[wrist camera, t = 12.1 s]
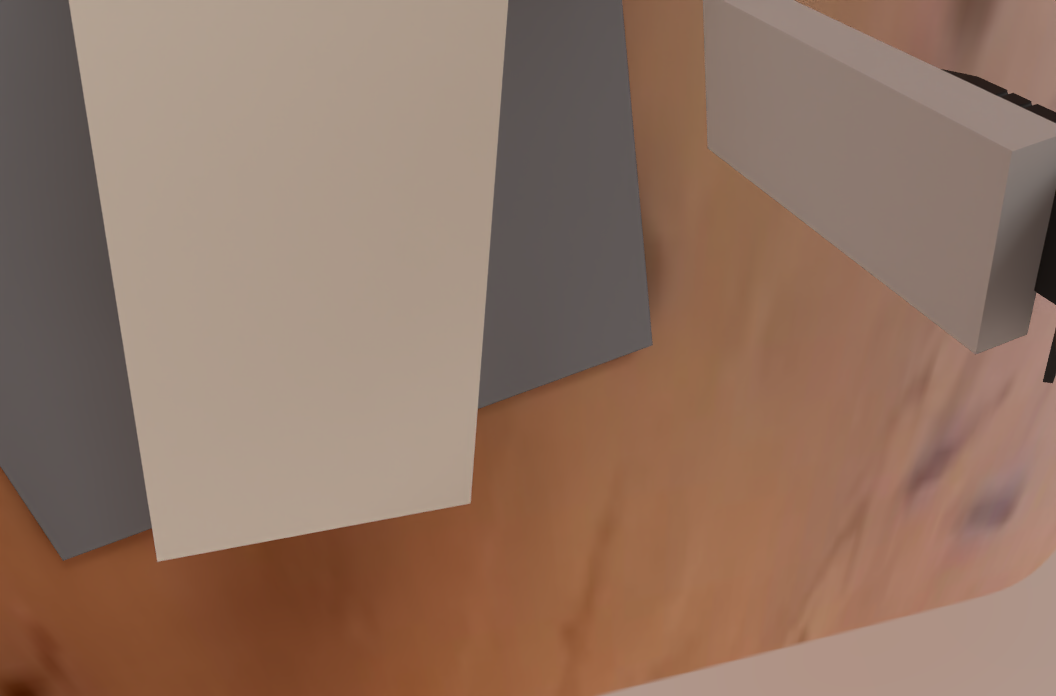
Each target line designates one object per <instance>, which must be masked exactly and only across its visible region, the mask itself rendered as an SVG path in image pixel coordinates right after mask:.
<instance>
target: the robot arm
mask: <svg viewBox="0 0 1056 696" xmlns="http://www.w3.org/2000/svg"><path fill="white" fill-rule="evenodd" d="M703 18H704V49H705V80H706V111H707V142H708V149H709V150H711V151H712V152H713V153H715V154H716V155H717V156H719V157H720V158H721V159H722V160H724V161H725V162H726V163H728V164H729V165H730V166H732V167H733V168H734V169H735V170H737V171H738V172H739V173H741V174H742V175H743V176H745V177H746V178H747V179H748V180H750V181H751V182H752V183H754V184H755V185H756V186H757V187H759V188H760V189H761V190H763V191H764V192H765V193H767V194H768V195H769V196H770V197H772V198H773V199H774V200H776V201H777V202H778V203H780V204H781V205H782V206H783V207H785V208H786V209H787V210H789V211H790V212H791V213H793V214H794V215H795V216H796V217H798V218H799V219H800V220H802V221H803V222H804V223H806V224H807V225H808V226H809V227H811V228H812V229H813V230H815V231H816V232H817V233H819V234H820V235H821V236H822V237H824V238H825V239H826V240H828V241H829V242H830V243H831V244H833V245H834V246H835V247H837V248H838V249H839V250H841V251H842V252H843V253H844V254H846V255H847V256H848V257H850V258H851V259H852V260H854V261H855V262H856V263H857V264H859V265H860V266H861V267H863V268H864V269H865V270H867V271H868V272H869V273H870V274H872V275H873V276H874V277H876V278H877V279H878V280H880V281H881V282H882V283H883V284H885V285H886V286H887V287H889V288H890V289H891V290H893V291H894V292H895V293H896V294H898V295H899V296H900V297H902V298H903V299H904V300H906V301H907V302H908V303H909V304H911V305H912V306H913V307H915V308H916V309H917V310H918V311H920V312H921V313H922V314H924V315H925V316H926V317H928V318H929V319H930V320H931V321H933V322H934V323H935V324H937V325H938V326H939V327H941V328H942V329H943V330H944V331H946V332H947V333H948V334H950V335H951V336H952V337H954V338H955V339H956V340H957V341H959V342H960V343H961V344H963V345H964V346H965V347H967V348H968V349H969V350H970V351H972V352H973V353H974V354H978V353H981V352H983V351H986V350H988V349H991V348H993V347H996V346H999V345H1001V344H1004V343H1006V342H1009V341H1011V340H1014V339H1016V338H1019V337H1022V336H1024V335H1027V333H1028V328H1029V324H1030V319H1031V314H1032V310H1033V305H1034V301H1035V296H1036V292H1037V293H1039V294H1040V295H1042V296H1043V297H1045V298H1046V299H1048V300H1049V301H1051V302H1052V303H1054V304H1055V305H1056V112H1054V111H1051V110H1049V109H1047V108H1045V107H1043V106H1040V105H1038V104H1036V105H1033V106H1032V104H1031V101H1030V100H1027V99H1025V98H1023V97H1021V96H1019V95H1017V94H1014V93H1011V94H1008V93H1007V90H1006V89H1003V88H1001V87H999V86H997V85H995V84H993V83H990V82H988V81H986V80H984V79H982V78H979V77H977V76H972V75H967V74H962V73H957V72H953V71H948V70H943V69H939V68H937V67H935V66H933V65H930V64H928V63H926V62H924V61H922V60H920V59H918V58H915V57H913V56H911V55H909V54H907V53H905V52H903V51H901V50H898V49H896V48H894V47H892V46H890V45H888V44H886V43H884V42H881V41H879V40H877V39H875V38H873V37H871V36H869V35H867V34H864V33H862V32H860V31H858V30H856V29H854V28H852V27H849V26H847V25H845V24H843V23H841V22H839V21H837V20H835V19H832V18H830V17H828V16H826V15H824V14H822V13H820V12H818V11H815V10H813V9H811V8H809V7H807V6H805V5H803V4H801V3H798V2H796V1H794V0H703ZM1055 375H1056V329H1055V333H1054V338H1053V342H1052V346H1051V350H1050V354H1049V358H1048V362H1047V367H1046V371H1045V375H1044V379H1043V382H1047V383H1053V381H1054V378H1055Z"/></svg>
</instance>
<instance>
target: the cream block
mask: <svg viewBox="0 0 1056 696" xmlns="http://www.w3.org/2000/svg"><path fill="white" fill-rule="evenodd" d="M69 6H70V12H71V18H72V25H73V31H74V37H75V44H76V50H77V56H78V63H79V69H80V75H81V82H82V88H83V94H84V101H85V107H86V113H87V120H88V126H89V132H90V139H91V145H92V151H93V158H94V164H95V170H96V177H97V183H98V189H99V196H100V202H101V208H102V215H103V221H104V227H105V233H106V240H107V246H108V252H109V259H110V265H111V271H112V278H113V284H114V290H115V297H116V303H117V309H118V316H119V322H120V328H121V335H122V341H123V347H124V354H125V360H126V366H127V373H128V379H129V385H130V392H131V398H132V404H133V411H134V417H135V423H136V430H137V436H138V442H139V449H140V455H141V461H142V468H143V474H144V480H145V487H146V493H147V499H148V506H149V512H150V518H151V525H152V531H153V537H154V544H155V550H156V556H157V562H159V561H164V560H170V559H175V558H180V557H186V556H191V555H197V554H202V553H207V552H213V551H218V550H223V549H229V548H234V547H239V546H245V545H250V544H255V543H261V542H266V541H272V540H277V539H282V538H288V537H293V536H298V535H304V534H309V533H314V532H320V531H325V530H331V529H336V528H341V527H347V526H352V525H357V524H363V523H368V522H373V521H379V520H384V519H390V518H395V517H400V516H406V515H411V514H416V513H422V512H427V511H432V510H438V509H443V508H449V507H454V506H459V505H465V504H470V503H471V491H472V477H473V464H474V451H475V437H476V424H477V411H478V397H479V384H480V371H481V358H482V344H483V331H484V318H485V304H486V291H487V278H488V264H489V251H490V238H491V225H492V211H493V198H494V185H495V171H496V158H497V145H498V131H499V118H500V105H501V92H502V78H503V65H504V52H505V38H506V25H507V12H508V0H69Z"/></svg>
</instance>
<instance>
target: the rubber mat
mask: <svg viewBox="0 0 1056 696" xmlns="http://www.w3.org/2000/svg"><path fill="white" fill-rule="evenodd" d="M651 345H653V344H652V333H651V322H650V310H649V299H648V288H647V277H646V265H645V254H644V243H643V231H642V220H641V209H640V198H639V186H638V175H637V164H636V153H635V141H634V130H633V119H632V108H631V96H630V85H629V74H628V63H627V51H626V40H625V29H624V17H623V6H622V0H508V12H507V25H506V38H505V52H504V65H503V78H502V92H501V105H500V118H499V131H498V145H497V158H496V171H495V185H494V198H493V211H492V225H491V238H490V251H489V264H488V278H487V291H486V304H485V318H484V331H483V344H482V358H481V371H480V384H479V397H478V409H479V408H482V407H485V406H487V405H490V404H493V403H496V402H498V401H501V400H504V399H507V398H509V397H512V396H515V395H517V394H520V393H523V392H526V391H528V390H531V389H534V388H537V387H539V386H542V385H545V384H548V383H550V382H553V381H556V380H558V379H561V378H564V377H567V376H569V375H572V374H575V373H578V372H580V371H583V370H586V369H589V368H591V367H594V366H597V365H599V364H602V363H605V362H608V361H610V360H613V359H616V358H619V357H621V356H624V355H627V354H630V353H632V352H635V351H638V350H641V349H643V348H646V347H649V346H651ZM0 467H1V468H2V470H3V471H4V473H5V474H6V476H7V477H8V479H9V480H10V482H11V483H12V485H13V486H14V488H15V489H16V491H17V492H18V494H19V495H20V497H21V498H22V500H23V501H24V503H25V504H26V506H27V507H28V509H29V510H30V512H31V513H32V515H33V516H34V518H35V519H36V521H37V522H38V524H39V525H40V527H41V528H42V530H43V531H44V533H45V534H46V536H47V537H48V539H49V540H50V542H51V543H52V545H53V546H54V548H55V549H56V551H57V552H58V554H59V555H60V557H61V558H62V560H63V561H64V560H66V559H69V558H72V557H75V556H77V555H80V554H83V553H86V552H88V551H91V550H94V549H96V548H99V547H102V546H105V545H107V544H110V543H113V542H116V541H118V540H121V539H124V538H127V537H129V536H132V535H135V534H137V533H140V532H143V531H146V530H148V529H151V528H152V525H151V518H150V512H149V506H148V499H147V493H146V487H145V480H144V474H143V468H142V461H141V455H140V449H139V442H138V436H137V430H136V423H135V417H134V411H133V404H132V398H131V392H130V385H129V379H128V373H127V366H126V360H125V354H124V347H123V341H122V335H121V328H120V322H119V316H118V309H117V303H116V297H115V290H114V284H113V278H112V271H111V265H110V259H109V252H108V246H107V240H106V233H105V227H104V221H103V215H102V208H101V202H100V196H99V189H98V183H97V177H96V170H95V164H94V158H93V151H92V145H91V139H90V132H89V126H88V120H87V113H86V107H85V101H84V94H83V88H82V82H81V75H80V69H79V63H78V56H77V50H76V44H75V37H74V31H73V25H72V18H71V12H70V6H69V0H0Z"/></svg>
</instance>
